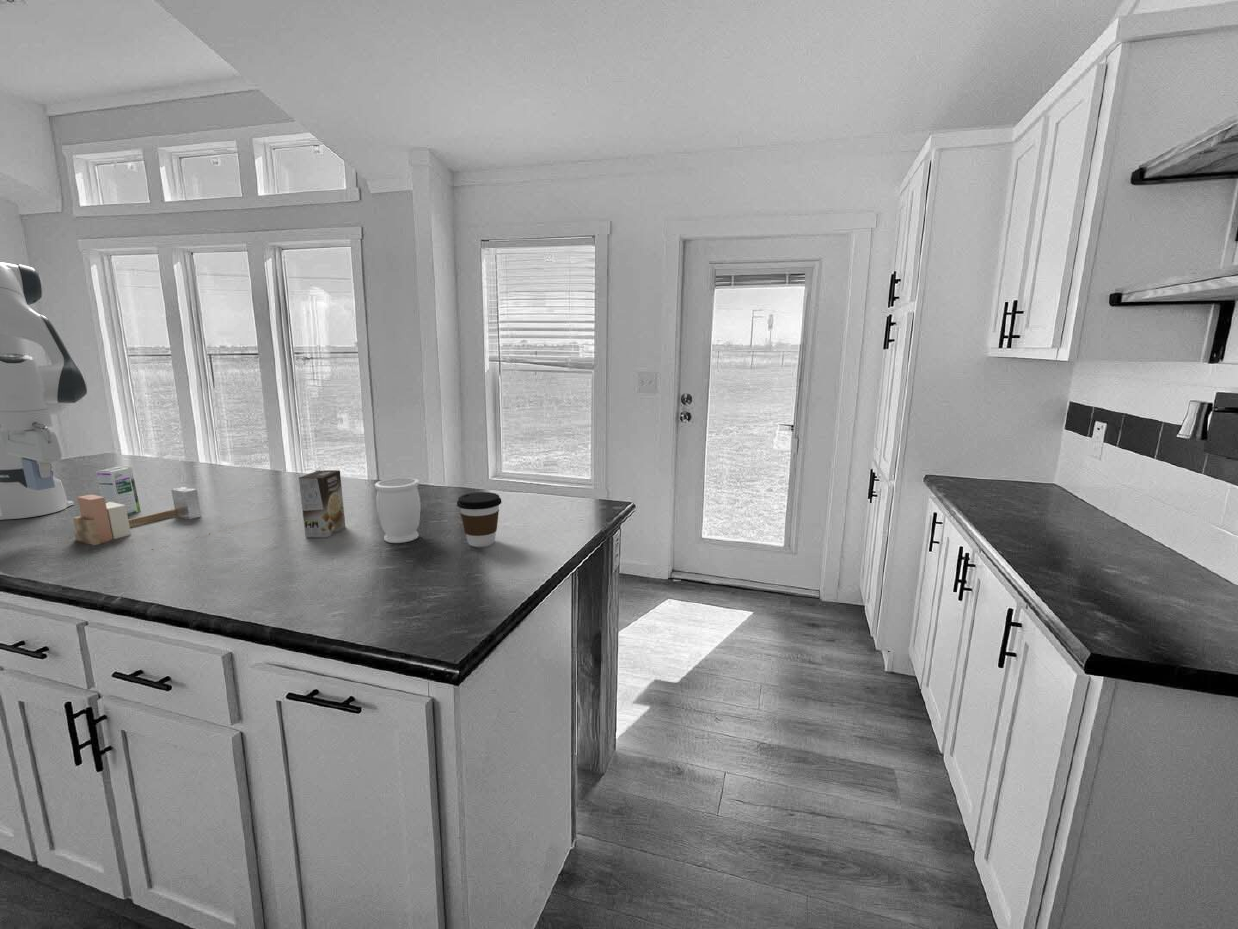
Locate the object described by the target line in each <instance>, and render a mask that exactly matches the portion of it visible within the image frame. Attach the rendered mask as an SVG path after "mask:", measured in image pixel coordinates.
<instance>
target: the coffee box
mask: <svg viewBox="0 0 1238 929" xmlns="http://www.w3.org/2000/svg"><path fill="white" fill-rule="evenodd" d="M298 484H299V491H300V500H301V502H300V503H301V509H302V517H303V518H302V519H303V527H304V536H305V538H325V539H326V538H329V537H332V536H333V535H335V534H336V533H338V532H339V531H341V530H342V529H345V528H346V518H345V507H344V498H343V489H342V488H343V486H342V477H341V470H339V469H337V470H334V469H333V470H329V469H327V470H326V469H324V470H316V471H314V472H310V473H308V474H305V475H302V476H300V477H298Z"/></svg>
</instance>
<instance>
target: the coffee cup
mask: <svg viewBox="0 0 1238 929" xmlns="http://www.w3.org/2000/svg"><path fill="white" fill-rule="evenodd" d="M501 504H502V498H501V497H500V495H499V494H498V493H495V492H490V491H488V492H487V491H480V492H478V491H477V492H470V493H466V494H462V495H461V496H459V497H458V499H457V501H456V507H458V508H459V510H460V518H461V521H462V527H463V529H464V533H465V535H466V536H465V537H466V541H467V543H468V544H469V546H471V547H474V548H483V547H484V548H485V547H488V546H489V547H490V546H491V545H493V544H494V542H495V540H496V534H497V531H498V522H499V513H500V509H499V508H500V505H501Z"/></svg>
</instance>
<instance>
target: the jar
mask: <svg viewBox="0 0 1238 929" xmlns="http://www.w3.org/2000/svg"><path fill="white" fill-rule="evenodd" d="M419 484H420V482H419V479H417V478H414V477H413V478H411V477H396V478H388V479H383V480H379V481H377V482H376V483H374V487H375V489H376V490H377V493H376V499H375V500H376V510H377V514H378V519H379V523H380V526H381V528H382V531H383V532H384V536H383V539H384V541H385V542H387V543H391V544H400V543H401V544H402V543H407V542H411V541H415V540H416V539H417V538H419V535H420V534H419V532H418V531H417V530H418V528H419V524H420V519H421V516H420V515H421V497H420V493H419V489H418V486H419Z"/></svg>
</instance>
